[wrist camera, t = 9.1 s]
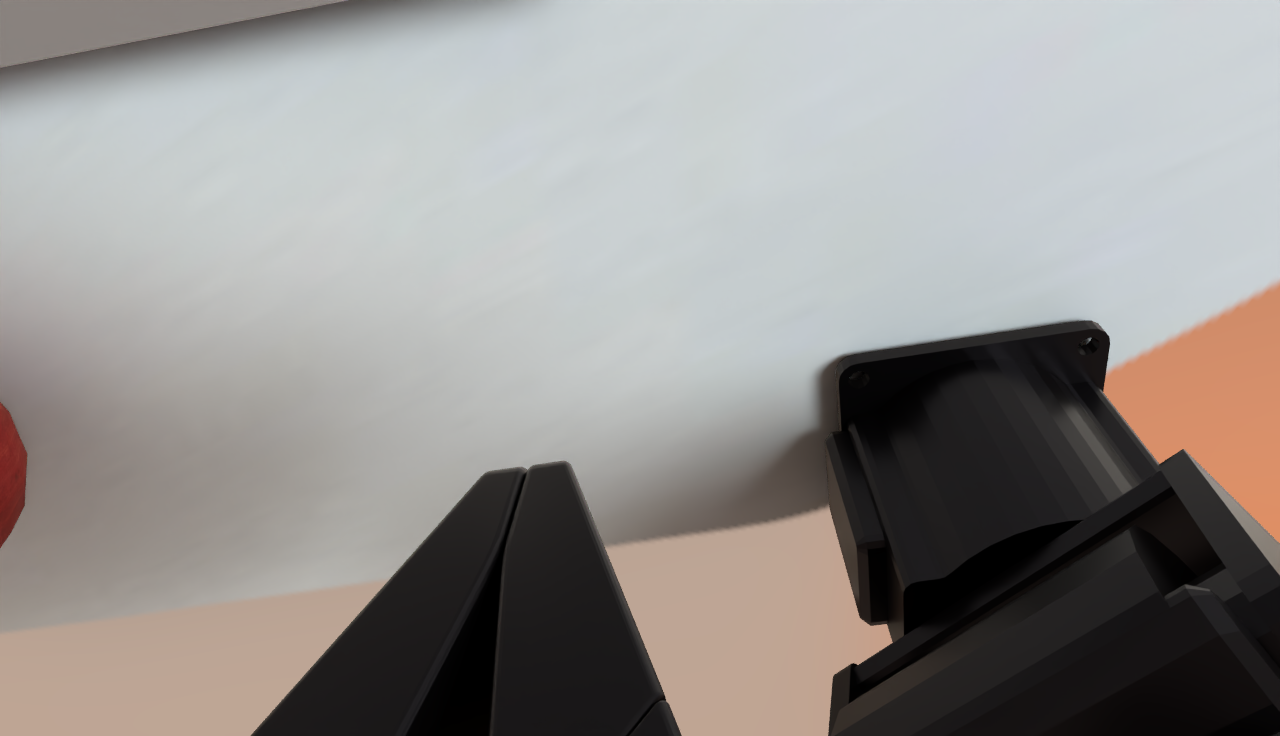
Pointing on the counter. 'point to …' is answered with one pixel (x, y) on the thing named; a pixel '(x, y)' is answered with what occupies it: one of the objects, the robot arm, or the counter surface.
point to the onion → (10, 474)
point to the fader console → (116, 22)
